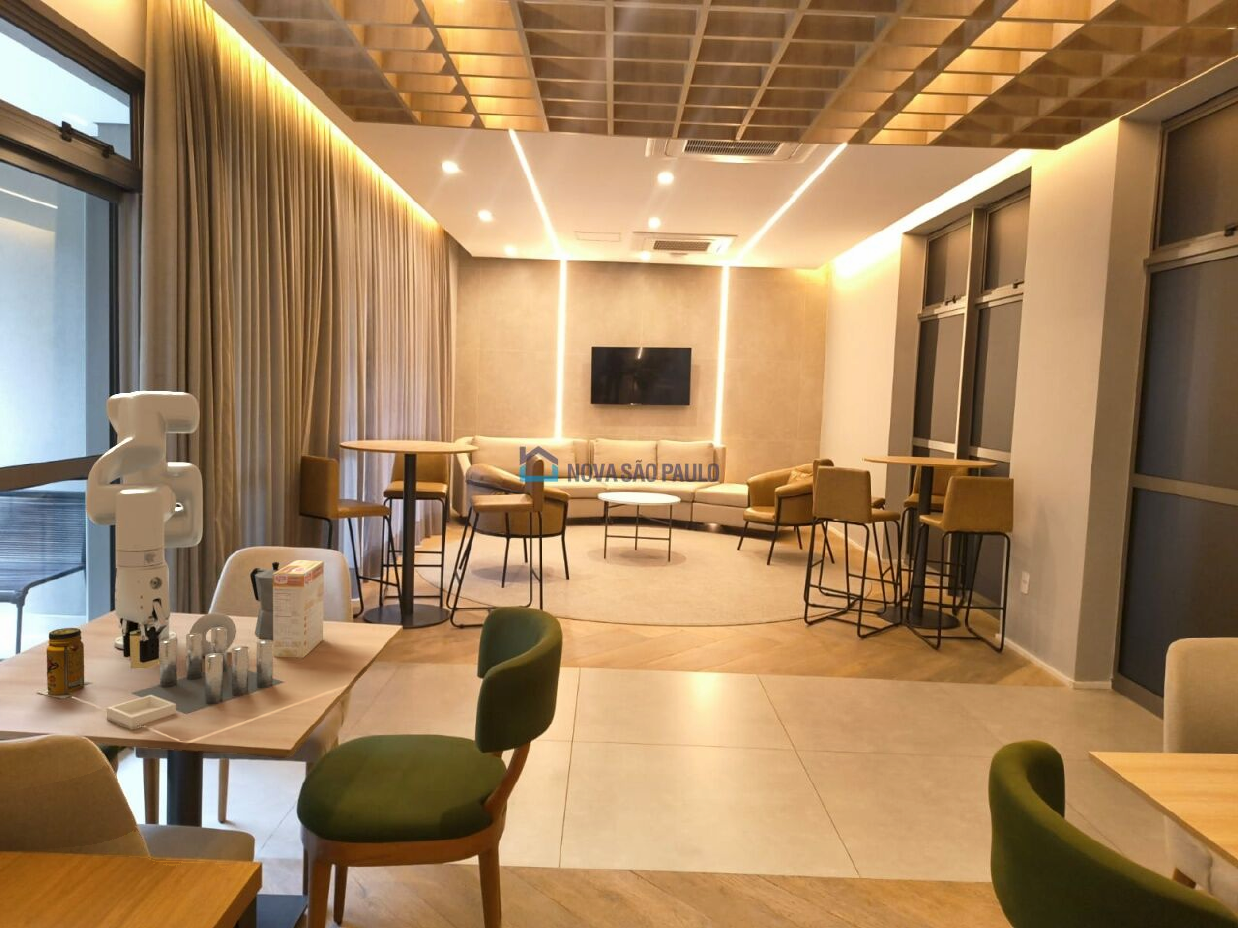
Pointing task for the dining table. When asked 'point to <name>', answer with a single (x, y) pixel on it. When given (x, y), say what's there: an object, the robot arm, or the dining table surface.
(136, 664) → the amber perfume bottle
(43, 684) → the dining table surface
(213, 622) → the donut
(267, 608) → the coffeepot
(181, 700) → the mat
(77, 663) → the condiment
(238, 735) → the dining table surface
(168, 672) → the silver peg rack
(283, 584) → the coffeecake box
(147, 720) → the dish
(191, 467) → the robot arm
